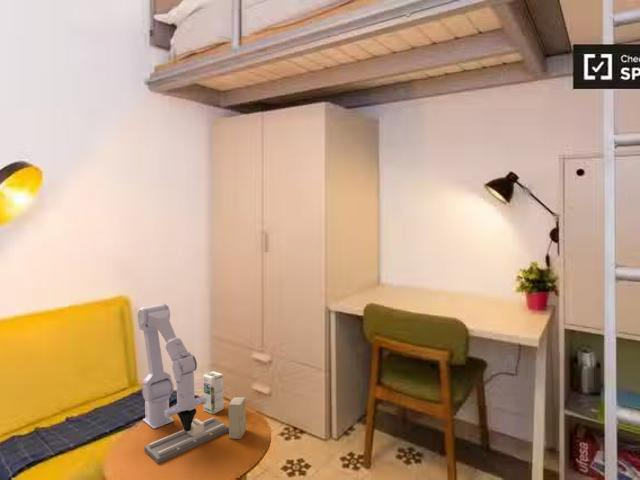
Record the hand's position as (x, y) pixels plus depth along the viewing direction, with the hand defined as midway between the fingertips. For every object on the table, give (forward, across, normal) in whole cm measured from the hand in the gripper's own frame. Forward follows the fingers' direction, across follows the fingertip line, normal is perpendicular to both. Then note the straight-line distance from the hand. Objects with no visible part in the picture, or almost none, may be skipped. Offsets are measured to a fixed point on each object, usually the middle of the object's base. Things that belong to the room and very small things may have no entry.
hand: (187, 430), depth 141 cm
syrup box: (+4, +18, +13) cm, 23 cm away
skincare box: (+4, +14, -9) cm, 17 cm away
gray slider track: (+4, 0, 0) cm, 4 cm away
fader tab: (+2, +3, 0) cm, 4 cm away
